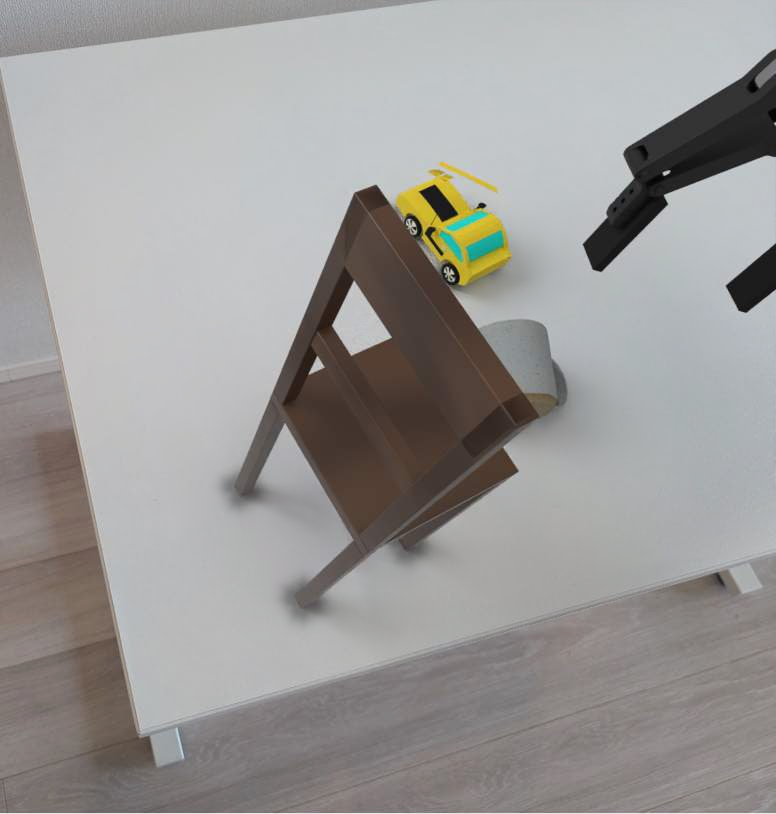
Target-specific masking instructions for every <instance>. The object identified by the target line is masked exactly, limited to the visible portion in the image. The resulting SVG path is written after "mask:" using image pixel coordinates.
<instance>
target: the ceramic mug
mask: <svg viewBox="0 0 776 814" xmlns="http://www.w3.org/2000/svg"><path fill="white" fill-rule="evenodd" d="M478 329H479V331H480V332H481V334H482V335H483V336H484V338H485V339H486V341H487V342H488V344H489V345H490V346H491V348H492V349H493V351H494V352H495V353H496V355H497V356H498V358H499V359H500V361H501V362H502V363H503V365H504V366H505V368H506V369H507V371H508V372H509V373H510V375H511V376H512V378H513V379H514V380H515V382H516V383H517V385H518V386H519V388H520V389H521V390H522V392H523V393H524V394H525V396H526V397H527V399H528V400H529V401H530V403H531V404H532V406H533V407H534V409H535V410H536V411H537V413H538V414H539V418H538V419H537V420H540V419H542V418H545V417H546V416H548V415H549V414H551V413H553V412H556V411H559V410H560V409H563V408H564V407H565V405H566V404H567V401H568V395H569V394H568V393H569V391H568V384H567V379H566V377H565V375H564V373H563V371H562V368H561V367H560V366H559V364H558V363H557V362H556V361H555V360H554V359H553V358H552V351H551V345H550V339H549V333H548V329H547V327H546V326H545V325H544V324H543V323H542V322H539V321H537V320H533V319H526V318H515V319H505V320H499V321H494V322H491V323H488V324H486V325H483V326H481V327H478Z"/></svg>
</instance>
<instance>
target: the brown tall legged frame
mask: <svg viewBox="0 0 776 814" xmlns="http://www.w3.org/2000/svg"><path fill="white" fill-rule="evenodd" d="M354 283H355V284H356V286H357V287H358V289H359V290H360V292H361V293H362V295H363V297H364V298H365V299H366V301H367V302H368V304H369V305H370V307H371V309H372V310H373V311H374V313H375V314H376V316H377V318H378V319H379V320H380V322H381V324H382V325H383V326H384V327H385V329H386V331H387V333H388V334H389V335H390V338H388V339H386V340H383V341H380V342H379V343H376V344H375V345H372V346H370V347H368V348H365V349H363V350H361V351H358V352H357V353H354V354H352V355H351V353H350V351H349V350H348V348H347V347H346V345H345V344H344V342H343V340H342V339H341V338H340V336H339V334H338V333H337V331H336V329H335V328H334V326H333V325H334V323H335V321H336V319H337V318H338V314H339V312H340V310H341V309H342V306H343V304H344V303H345V300H346V298H347V296H348V294H349V292H350V290H351V288H352V287H353V286H352V285H353V284H354ZM317 358H318V359H319V361H320V362H321V364H322V366H323V367H322V368H320V369H318V370H315V371H314V372H312V373H311V371H312V368H313V366H314V364H315V363H316V360H317ZM538 418H539V414H538V413H537V411H536V410H535V409H534V407H533V406H532V404H531V403H530V401H529V400H528V399H527V397H526V396H525V394H524V393H523V392H522V390H521V389H520V388H519V386H518V385H517V383H516V382H515V380H514V379H513V378H512V376H511V375H510V373H509V372H508V371H507V369H506V368H505V366H504V365H503V363H502V362H501V361H500V359H499V358H498V356H497V355H496V353H495V352H494V351H493V349H492V348H491V346H490V345H489V344H488V342H487V341H486V339H485V338H484V336H483V335H482V334H481V332H480V331H479V327H478V326H477V325H476V323H475V322H474V321H473V319H472V318H471V317H470V315H469V314H468V312H467V311H466V310H465V308H464V306H463V305H462V303H461V302H460V301H459V300H458V298H457V297H456V295H455V294H454V292H453V291H452V290H451V288H450V287H449V284H448V283H447V282H446V281H445V280H444V278H443V276H442V274H440V272H439V271H438V270H437V268H436V267H435V265H434V264H433V263H432V261H431V260H430V258H429V257H428V255H427V254H426V253H425V251H424V250H423V249H422V247H421V245H420V244H419V243H418V241H417V240H416V238H414V237H413V236H412V234H411V233H410V231H409V230H408V229H407V227H406V226H405V224H404V221H403V220H402V219H401V217H400V216H399V214H398V213H397V211H396V210H395V209H394V207H393V206H392V204H391V203H390V201H389V199H388V198H387V197H386V196H385V194H384V193H383V191H382V190H381V188H380V187H379V186H378V184H373V185H371V186H368V187H365V188H363V189H360V190H357V191H355V192H353V195H352V197H351V199H350V202H349V204H348V206H347V209H346V212H345V214H344V216H343V219H342V221H341V224H340V225H339V229H338V231H337V233H336V236H335V238H334V241H333V243H332V245H331V248H330V251H329V253H328V255H327V258H326V260H325V262H324V265H323V267H322V270H321V273H320V275H319V278H318V280H317V282H316V285H315V287H314V290H313V292H312V295H311V297H310V300H309V302H308V304H307V306H306V309H305V312H304V314H303V317H302V319H301V322H300V324H299V326H298V329H297V332H296V334H295V336H294V339H293V341H292V344H291V345H290V349H289V351H288V353H287V355H286V358H285V361H284V362H283V366H282V368H281V370H280V372H279V375H278V378H277V380H276V382H275V386H274V388H273V389H272V391H271V395H270V398H269V399H268V403H267V405H266V407H265V409H264V413H263V415H262V417H261V419H260V421H259V424H258V427H257V429H256V432H255V434H254V437H253V439H252V442H251V444H250V446H249V449H248V451H247V453H246V456H245V459H244V461H243V463H242V466H241V469H240V471H239V473H238V476H237V478H236V481H235V483H234V488H235V490H236V492H237V494H238V495H239V497H244V496H245V495H246V496H247V495H248V494H250V493H252V492H253V490H254V488H255V485H256V483H257V482H258V480H259V477H260V475H261V473H262V471H263V469H264V467H265V466H266V463H267V461H268V459H269V457H270V455H271V453H272V451H273V449H274V446H275V444H276V442H277V440H278V438H279V437H280V434H281V432H282V430H283V428H284V426H286V428H287V429H288V431H289V432H290V435H291V436H292V438H293V439H294V441H295V443H296V445H297V446H298V448H299V449H300V451H301V452H302V455H303V456H304V458H305V460H306V462H307V463H308V465H309V467H310V469H311V470H312V472H313V474H314V475H315V477H316V479H317V480H318V482H319V484H320V486H321V487H322V489H323V490H324V493H325V494H326V496H327V498H328V500H329V501H330V503H331V504H332V506H333V507H334V509H335V511H336V513H337V514H338V516H339V518H340V519H341V522H342V523H343V524H344V526H345V528H346V529H347V531H348V534H349V535H350V536H351V538H352V541H351V542H350V543H349V544H348V545H347V546H346V547H344V548H343V549H342V550H341V551H340V552H339V553H337V555H336V556H335V557H334V558H333V559H331V561H330V562H329V563H327V565H325V566H324V567H323V568H322V569H321V570H320V571H319V572H318V573H317V574H316V575H315V576H314V577H313V578H312V579H310V580H309V581H308V583H307V584H305V586H302V588H301V589H300V590H299V591H298V592H297V593H296V594H295V595H294V598H295V599H296V601H297V603H298V605H299V607H300V609H305V607H307V606H309V605H311V604H312V603H315V602H316V601H317V600H318V599H319V598H321V596H322V595H324V594H325V593H326V592H328V591H329V590H330V589H331V588H332V587H335V585H336V584H338V583H339V582H340V581H341V580H342V579H344V578H345V577H346V576H347V575H349V574H350V573H351V572H352V571H353V570H354V569H356V568H357V567H358V566H360V565H361V564H362V563H363V562H364V561H365V560H367V559H368V558H369V557H371V556H372V555H373V554H374V553H376V551H378V550H379V549H381V548H383V547H385V546H386V545H388V544H390V543H392V542H394V541H396V540H398V541H399V542H400V544H401V546H402V547H403V549H404V551H405V552H408V551H410V550H411V549H413V548H415V547H417V546H418V545H419V544H421V543H422V542H424V541H425V540H426V539H428V538H429V537H430V536H432V535H433V534H435V533H436V532H437V531H439V530H440V529H442V528H443V527H445V526H446V525H448V523H450V522H451V521H453V520H455V519H456V518H457V517H459V516H460V515H461V514H463V512H465V511H466V510H468V509H470V508H471V507H472V506H474V505H475V504H476V503H478V502H479V501H481V500H482V499H483V498H484V497H486V496H487V495H489V494H490V493H491V492H493V491H495V490H496V489H498V487H500V486H501V485H503V484H504V483H505V482H507V481H508V480H510V479H511V478H512V477H514V476H515V475H516V474H518V473H519V472H520V471H519V469H518V467H517V465H516V464H515V463H514V462H513V460H512V458H511V457H510V455H509V454H508V452H507V451H506V450H505V448H504V447H505V446H506V445H507V444H509V442H511V441H512V440H514V439H515V438H516V437H517V436H518V435H520V434H521V433H522V432H523V431H524V430H526V429H527V428H528V427H530V425H532V424H534V422H535V421H537V420H539V419H540V418H539V419H538Z"/></svg>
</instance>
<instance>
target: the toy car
mask: <svg viewBox="0 0 776 814" xmlns="http://www.w3.org/2000/svg"><path fill="white" fill-rule="evenodd" d="M437 165H438V166H440V167H442V168H445V169H447V170H448V171H450V172H452V173H455V174H457V175H460V176H462V177H463V178H465V179H467V180H470V181H472V182H474V183H476V184H477V185H480V186H482V187H484V188H486V189H488V190H490V191H491V192H494V193H496V194H499V191H498V187H497V186H494V185H492V184H490V183H488V182H486V181H484V180H483V179H480V178H478V177H476V176H474V175H472V174H470V173H467V172H465V171H463V170H461V169H459V168H456V167H455V166H453V165H451V164H448V163H446V162H444V161H441V162H438V163H437ZM426 173H429V174H430V175H432V176H434V177H435V178H432V179H430V180H427V181H425V182H423V183H421V184H419V185H416V186H414V187H412V188H409V189H407V190H405V191H402V192H401V193H398V195H397V197H396V199H395V203H396V207H397V208H398V209H399V211H400V212H401V213H402V215H403V216H404V217H405V218H404V221H403V223H404V224H405V226H406V227H407V229H408V230H409V231H410V233H411V234H412V236H413V237H414V238H415V239H416V238H419V237H420V236H421V235H422V236H421V239H422V240H423V242H424V243H425V244H426V245H427V247H428V248H429V250H430V251H431V252H432V253H433V254H434V256H435V257H436V258H437V259H438V261H439V262H440V263H441V264H442V263H444V262H445V263H444V264H442V265H441V271H440V272H441V277H442V278H443V280H444V281H445V283H446V284H447V285H448V286H449V285H450V286H456V285H460V286H467V285H468V284H471V283H473V282H474V281H477V280H478V279H481V278H482V277H485V276H486V275H488V274H491V273H492V272H494V271H496V270H498V269H500V268H502V267H504V266H506V265H507V264H508V262H509V261H510V260H511V259H512V258H513V255H512V252H511V250H510V247H509V240H508V235H507V232H506V230H505V227H504V225H503V222H502V220H501V219H500V218H499V217H498V216H497V215H495V214H494V213H492V212H491V211H488V210H486V209H485V208H486V207H487V204H486V203H484V202H479V203H478V204H477V206H476V207H475V208H474V209H472V208H470V206H469V204H468V203H467V201H466V200H465V199H464V197H463V196H462V195H461V193H460V192H459V191H458V189H457V188H456V187H455V185H453V183H452V182H450V180H452V179H454V178H455V176H453V175H450V174H447V173H446V172H445V171H443V170H440V169H430V170H428V171H426ZM447 261H448V262H447Z"/></svg>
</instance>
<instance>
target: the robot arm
mask: <svg viewBox="0 0 776 814" xmlns="http://www.w3.org/2000/svg"><path fill="white" fill-rule="evenodd" d="M775 123H776V48H774V49H772V50H771V51H769V52H768V53H767V54H766V55H765V56H763V57H762V58H761V59H760V60H759V62H757V63H756V64H755V65H754V66H753V67H752V68H750V70H749V71H747V72H746V73H745V74H744V75H743V76H742V77H740V78H739V79H737V80H735V81H734V82H732V83H730V84H729V85H727V86H725V87H724V88H722V89H720V90H718V91H717V92H715V93H714V94H713V95H711V96H709V97H707V98H706V99H704V100H703V101H701V102H700V103H698V104H696V105H694V106H693V107H691V108H690V109H688V110H686V111H684V112H682V113H681V114H679V115H678V116H676V117H674V118H673V119H671V120H670V121H668V122H666V123H664V124H663V125H661V126H659V127H658V128H656V129H655V130H653V131H652V132H649V133H648V134H646V135H645V136H643V137H642V138H640V139H638V140H636V141H635V142H633V143H632V144H630V145H629V146H627V147H626V148H625V149H624V150H623V153H622V156H623V158H624V161H625V163H626V164H627V167H628V169H629V171H630V173H631V175H632V177H633V179H632V180H631V181H630V182H629V184H627V185H626V186H625V188H624V189H623V190H622V191H621V192H620V193H619V194H618V196H616V198H615V199H614V200H613V201H612V202H611V203H610V204H609V206H608V207H607V209H606V212H605V215H606V218H605V219H604V220H603V221H602V222H601V223H600V225H599V226H597V228H596V229H595V230H594V231H593V232H592V233H591V234H590V236H588V238H586V240H584V242H583V243H582V247H583V249H584V252H585V254H586V257H587V259H588V261H589V265H590V266H591V270H592V271H595V272H599V273H602V272H604V270H605V269H606V268H607V267H609V265H610V264H611V263H612V262H614V260H615V259H616V258H617V257H618V256H619V255H620V254H621V253H622V252H623V251H624V250H625V249H626V248H627V247H628V246H629V245H631V243H632V242H633V241H634V240H635V239H636V238H637V237H638V236H639V235H640V234H641V233H642V232H643V231H644V230H645V229H646V228H647V227H648V226H649V225H650V224H651V223H652V222H653V221H654V220H655V219H656V218H657V217H658V216H659V215H660V213H662V212H663V211H664V209H665V208H666V207H668V205H669V203H668V201H667V199H666V197H665V195H668V194H671V193H673V192H675V191H678V190H681V189H684V188H686V187H688V186H691V185H694V184H696V183H699V182H702V181H704V180H706V179H707V180H708V179H709V178H712V177H715V176H718V175H719V174H722V173H724V172H728V171H730V170H732V169H735V168H738V167H740V166H743V165H746V164H749V163H750V162H754V161H756V160H758V159H761V158H764V157H772V158H776V124H775ZM665 172H669V173H667V174H665V175H664V173H665ZM725 287H726V290H727V291H728V294H729V295H730V298H731V299H732V302H733V303H734V305H735V307H736V309H737V311H738V312H741V313H743V314H747V313H748V312H750V311H751V310H752V309H753V308H755V307H756V306H758V305H759V304H760V303H761V302H762V301H764V300H765V299H766V298H768V297H769V296H770V295H771V294H772V293H774V292H775V291H776V242H775V243H774V244H772V246H771V247H769V248H768V249H767V250H765V252H763V253H762V254H761V255H760V256H759V257H758V258H757V259H755V260H754V261H753V262H752V263H751V264H749V265H748V266H746V268H744V269H743V270H742V271H741V272H740V273H738V274H737V275H736V276H734V278H732V279H731V280H730V281H729V282H728V283H727V284H726V285H725Z"/></svg>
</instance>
